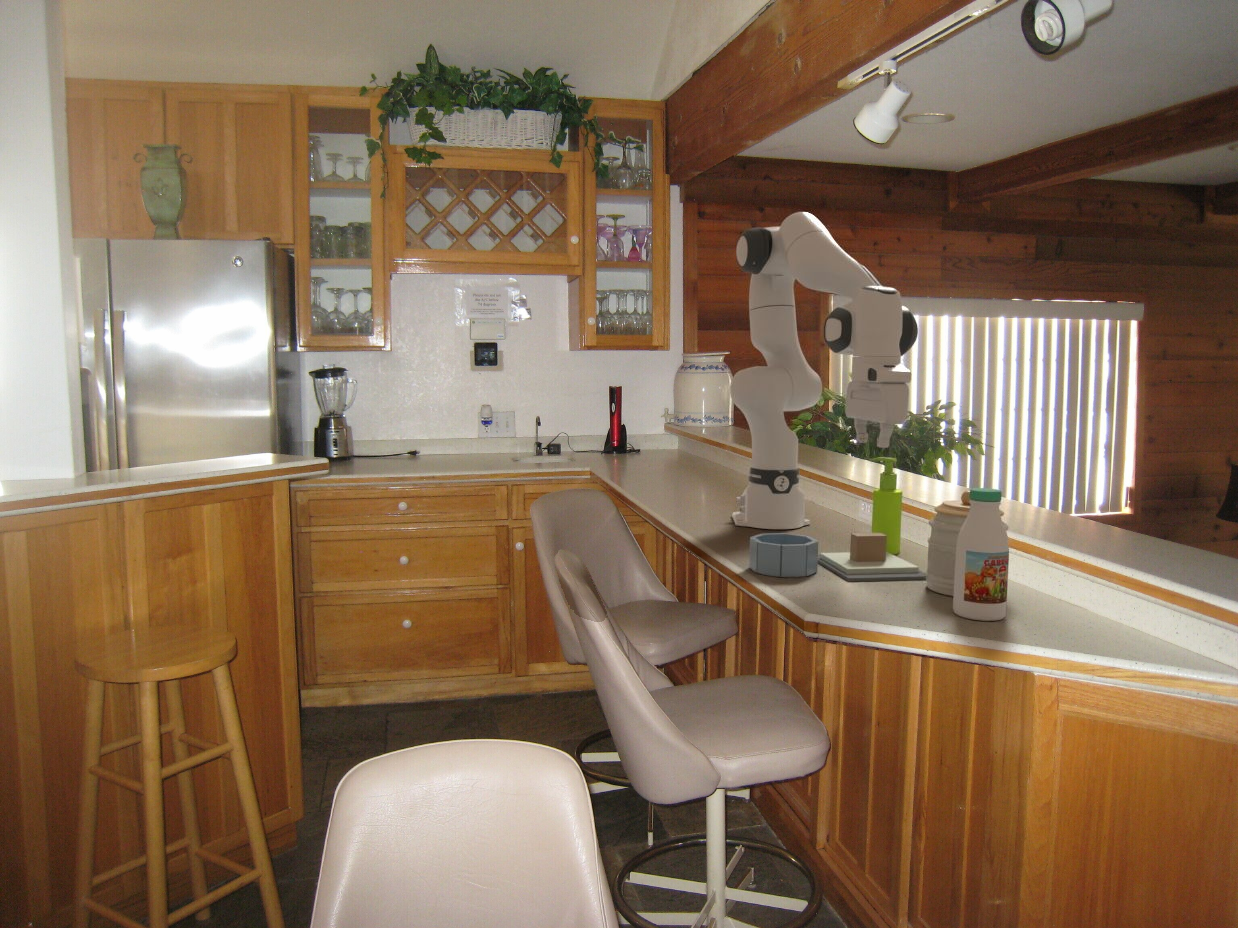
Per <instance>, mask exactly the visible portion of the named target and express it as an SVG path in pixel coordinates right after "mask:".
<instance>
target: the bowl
mask: <svg viewBox="0 0 1238 928" xmlns="http://www.w3.org/2000/svg"><path fill="white" fill-rule="evenodd" d="M818 555H819V540H817V539H816V538H813V537H812V536H809V535H804V534H796V533H786V532H779V533H778V532H774V533H773V532H772V533H769V532H768V533H759V534H756V535H753V536H749V566H748V567H749V568H750V569H751V570H752V571H753V572H754V573H757V574H760V575H762V576H763V575H764V576H768V577H775V578H776V577H777V578H803V577H805V578H806V577H809V576H812V575H815V573H817V572H818V565H819V563H818Z"/></svg>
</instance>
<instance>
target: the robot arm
mask: <svg viewBox="0 0 1238 928" xmlns="http://www.w3.org/2000/svg"><path fill="white" fill-rule="evenodd" d="M735 252H736V253H735V254H736V261H737V265H738V266H739V268H740V269H741V271H743V272H745V273H747V274H751V277H750V283H749V290H748V291H749V292H748V293H749V294H748V307H749V309H748V310H749V311H748V312H749V313H748V314H749V329H750V341H751V343H752V345H753V347H754V348H755V349H757V350H758V351H759V352H760V353H761V354H762V356H763V358H764V360H765V362H766V364H767V365H764V366H761V365H756V366H751V367H746V368H744V369H740V370H739V371H737V372H736V373H735V374H734V375H733V377H732V380H731V382H730V386H729V387H730V388H729V393H730V398H731V400H732V403H733V404H734V405H735V406H736V407H737V408H738V409H739V410H740V411H741V413H742V414H743V416H744V417H745V419H746V422H747V424H748V426H749V431H750V435H751V467H750V469H749V473H748V481H749V482H748V484H747V486H746V487H745V489H744V491H743V492H742V494H741V495H740V496H736V498H735V506H736V507H740V508H739V511H733V512H731V517H732V520H733V522H734V525H735V526H739V527H750V528H756V529H765V530H766V529H767V530H791V529H798V528H801V527H803V526H808V525H811V520H810V519H809V518H808V519H807V518H805V517H806V515H805V512H806V510H805V492H804V491H803V490H802V489H801V488H800V487H799V483H800V477H801V476H800V469H799V468H798V461H799V460H798V459H799V438H798V435H797V434H796V432H794V431H793V430H792V429H790V428H789V426H788V425H787V424H788V423H787V422H786V419H785V415H784V414H785V413H784V412H799V411H802V410H806V409H809V408H812V407H813V406H815V405H816V404H817V403H818V402H819V401H820V399H821V397H822V395H823V382H822V379H821V377H820V375H819V374H818V373H817V372H816V371H814V369H812V367H811V366H810V365H809V363H808V361H807V360H806V357H805V355H804V352H803V351H802V348H801V344H800V341H799V337H798V328H797V327H798V326H797V316H796V301H795V291H794V285H795V281H797V282H798V283H799V284H801V285H802V287H803V286H804V287H805V288H806V289H808V290H809V289H810V290H813V291H819V292H824V293H831V294H835V295H838V296H842V297H845V298H848V299H850V301H849V302H847V303H846V304H844V305H842V306H839V307H836V308H834V309H833V310H832V311H830V313H828V315H827V317H826V319H825V321H824V325H823V339H824V341H825V343H826V346H827V347H828V348H829V349H830V350H831V351H832V352H833V353H835V354H839V355H842V356H843V355H844V356H846V355H847V356H848V355H849V356H851V358H852V359H851V381H849V383H848V384H847V388H846V395H845V396H846V397H845V408H844V412H845V417H846V418H847V419H849V418H850V419H854V423H853V424H854V429H855V433H856V438H855V439H856V442H857V443H861V444H867V443H868V442H869V433H868V432H867V425H868V422H873V423H879V430H880V431H879V435H878V437H877V439H876V446H877V447H878V448H883V449H884V448H886V449H887V448H889V447H890V441H891V440H890V438H891V436H892V434H893V431H894V427H895V426H894V425H903V424H905V421H906V419H907V415H908V411H909V410H908V409H909V395H910V393H909V385H908V384H910V383H911V381H912V371H911V370H910V369H909V368H908V367H905V365H904V364H903V363H902V362H901V360H902V359H901V357H903V356H904V355H905V354H907V353H908V352H909V351H910V349H912V348H913V346H914V345H915V343H916V341H917V339H918V335H919V328H918V327H919V326H918V323H917V320H916V318H915V317H914V315H913V313H912V312H911V311H910V310H909V309H908V308H907V307H906V306H904V305H903V302H902V297H901V293H900V291H899V290H897V289H896V288H895V287H889V286H884V285H882V284H881V283H880V281H878V279H877V278H876V277H875V276H874V275H873V273H872V272H871V271H869V269H867V267H865V266H864V265H863V264H862V263H860V262H858V261H857V260H856V259H854V258H853V257H852V256H850V255H849V254H848V253H847V252H846V251H845V250H844V249H843V248H842V247H840V245H839V244H838V243H837V242H836V241H835V239H834V238H833V236H832V234H831V233H830V231H829V229H827V228H826V226H825V225H824V224H823V223H822V222H821V221H820V220H819V219H818V218H817V217H816V216H815V215H813V214H812V213H809V212H806V211H797V212H794V213H791V214H790V215H788V216H787V217H786V218H784V220H783V221H782V223H781V224H780V226H769V227H760V226H757V227H752V228H748V229H746V230H744V231H743V232H742V233H741V235H739V237H738V240H737V243H736V251H735Z"/></svg>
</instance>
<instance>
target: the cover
mask: <svg viewBox="0 0 1238 928" xmlns="http://www.w3.org/2000/svg"><path fill="white" fill-rule="evenodd" d="M886 545H887V536H886V535H884V534H882V533H872V532H858V533H856V532H852V533H850V548H849V550H850V551H847V552H820V553H819V555H820V558H821V559H823V560H824V561H826V562H828V563H829V564H831V565H833V566H834V567H836V568H838V569H839V570H841V571H843V572H845V573H846V574H875V573H916V572H919V570H920V567H919V566H917V565H915V564H913V563H911V562H909V561H907V560H906V559H902V558H901V557H898V556H896V555H895V554H890V553H888V552H886Z"/></svg>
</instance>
